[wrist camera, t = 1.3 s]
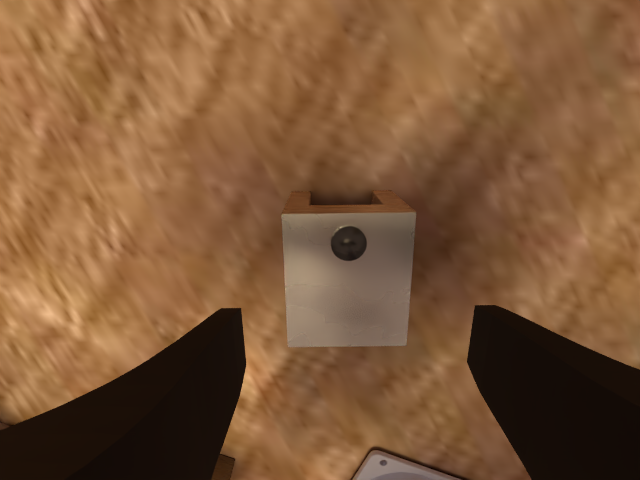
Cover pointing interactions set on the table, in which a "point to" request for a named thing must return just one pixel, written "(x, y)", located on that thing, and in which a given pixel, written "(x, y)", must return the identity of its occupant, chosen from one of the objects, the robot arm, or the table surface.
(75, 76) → the table surface
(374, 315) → the notched block with hole
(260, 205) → the table surface
